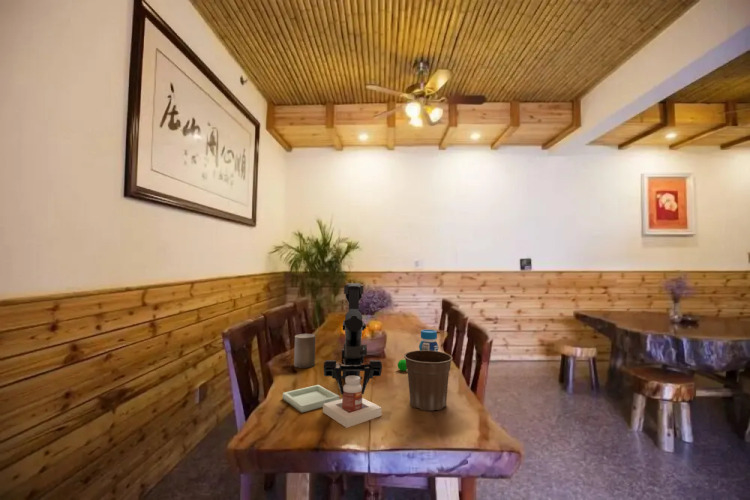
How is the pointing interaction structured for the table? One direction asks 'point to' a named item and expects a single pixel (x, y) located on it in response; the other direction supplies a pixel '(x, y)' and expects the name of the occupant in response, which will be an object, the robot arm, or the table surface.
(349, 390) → the pill bottle
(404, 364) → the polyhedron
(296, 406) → the parts tray
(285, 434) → the table surface
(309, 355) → the pillar candle
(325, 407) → the socket block
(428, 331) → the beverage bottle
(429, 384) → the plant pot
